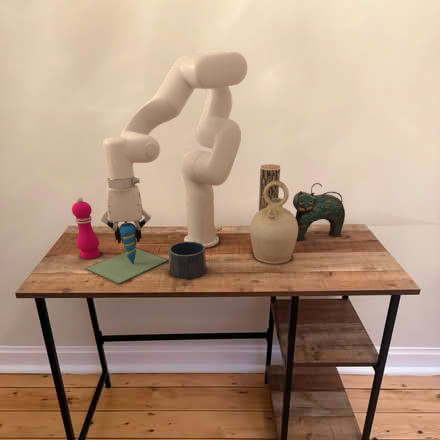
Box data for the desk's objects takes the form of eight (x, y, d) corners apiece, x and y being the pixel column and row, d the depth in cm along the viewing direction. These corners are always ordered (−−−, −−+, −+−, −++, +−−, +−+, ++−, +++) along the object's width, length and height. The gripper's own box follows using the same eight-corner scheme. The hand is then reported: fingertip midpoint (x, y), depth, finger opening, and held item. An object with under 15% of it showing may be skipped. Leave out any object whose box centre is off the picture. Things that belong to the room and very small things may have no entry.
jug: (263, 243, 144) (266, 172, 131) (303, 253, 136) (311, 179, 123) (240, 258, 133) (241, 182, 120) (282, 270, 125) (288, 190, 113)
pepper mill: (95, 260, 133) (84, 201, 123) (75, 259, 134) (62, 200, 124) (104, 251, 139) (95, 194, 129) (85, 250, 140) (74, 193, 130)
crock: (187, 260, 132) (186, 238, 129) (212, 269, 127) (212, 247, 123) (163, 271, 125) (161, 249, 122) (189, 282, 119) (187, 259, 116)
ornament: (143, 263, 130) (138, 218, 122) (130, 268, 126) (124, 223, 119) (133, 258, 133) (128, 215, 125) (120, 264, 130) (114, 219, 122)
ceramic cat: (293, 242, 144) (298, 186, 134) (286, 235, 150) (291, 181, 140) (344, 237, 148) (352, 182, 138) (335, 230, 154) (343, 177, 144)
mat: (135, 248, 141) (135, 247, 141) (167, 261, 132) (167, 259, 132) (86, 269, 127) (86, 268, 127) (119, 284, 119) (119, 282, 118)
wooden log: (277, 232, 153) (282, 165, 140) (273, 239, 147) (278, 169, 135) (260, 230, 155) (263, 163, 142) (255, 237, 149) (258, 168, 137)
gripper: (151, 178, 121) (157, 235, 130) (93, 180, 119) (102, 238, 128) (150, 185, 114) (156, 244, 123) (89, 187, 113) (99, 247, 122)
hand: (129, 240), depth 126 cm, fingers closed on ornament, 5 cm apart
